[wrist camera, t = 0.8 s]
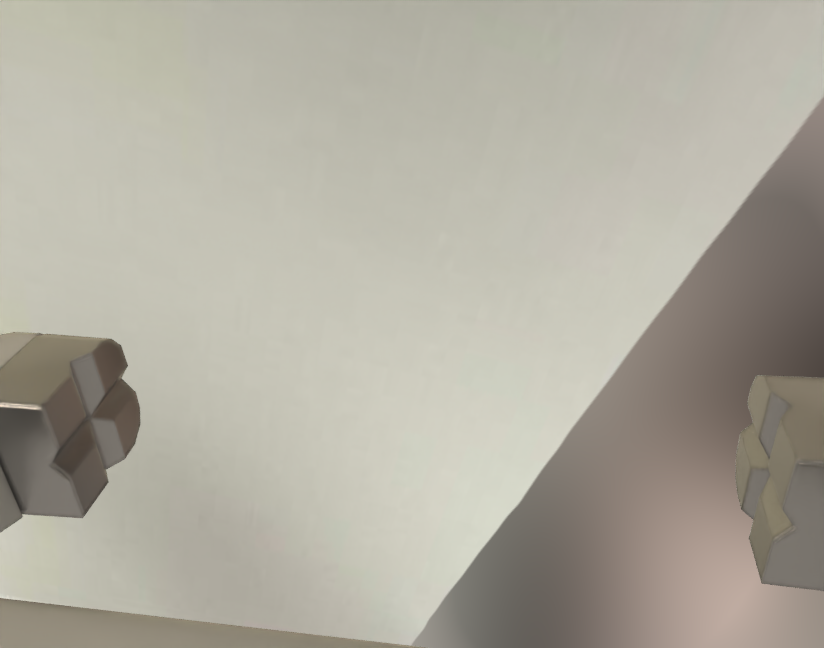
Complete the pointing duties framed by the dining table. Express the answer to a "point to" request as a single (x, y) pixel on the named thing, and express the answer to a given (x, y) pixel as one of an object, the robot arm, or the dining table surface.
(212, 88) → the dining table surface
